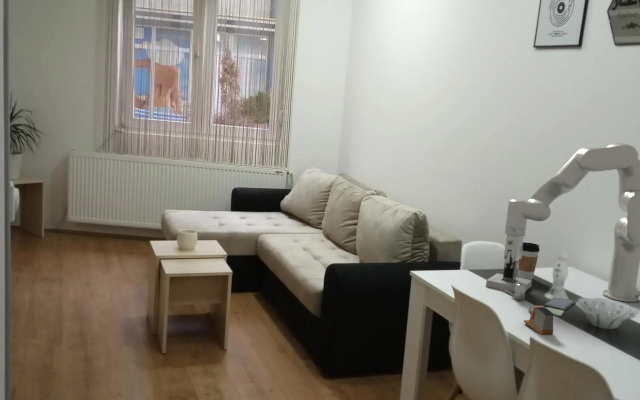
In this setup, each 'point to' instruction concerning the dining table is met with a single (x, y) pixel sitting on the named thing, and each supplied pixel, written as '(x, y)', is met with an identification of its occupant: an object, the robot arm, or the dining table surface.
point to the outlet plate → (506, 283)
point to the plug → (519, 292)
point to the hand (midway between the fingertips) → (509, 276)
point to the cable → (508, 292)
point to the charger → (513, 272)
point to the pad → (555, 311)
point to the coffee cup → (528, 261)
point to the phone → (559, 303)
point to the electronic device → (540, 320)
